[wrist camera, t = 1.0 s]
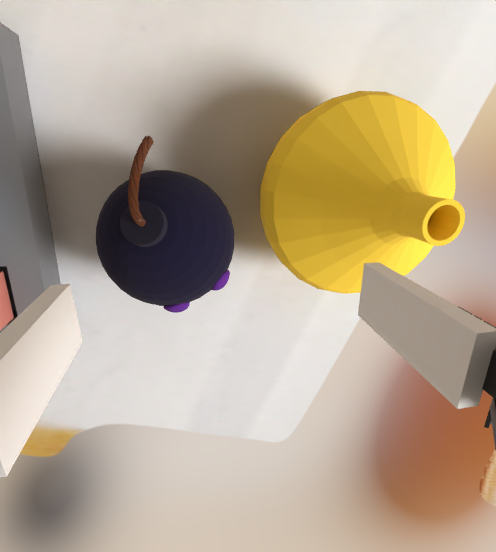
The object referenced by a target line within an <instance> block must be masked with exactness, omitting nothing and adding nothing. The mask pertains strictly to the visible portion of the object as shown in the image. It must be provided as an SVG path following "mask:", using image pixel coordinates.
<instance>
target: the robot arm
mask: <svg viewBox="0 0 496 552" xmlns="http://www.w3.org/2000/svg"><path fill="white" fill-rule="evenodd" d="M358 315H359V316H360V317H361V318H362V319H363V320H364V321H365V322H366V323H367V324H368V325H369V326H370V327H371V328H372V329H373V330H374V331H376V332H377V333H378V334H379V335H380V336H381V337H382V338H383V339H384V340H385V341H386V342H387V343H388V344H389V345H390V346H391V347H392V348H394V349H395V350H396V351H397V352H398V353H399V354H400V355H401V356H402V357H403V358H404V359H405V360H406V361H407V362H408V363H410V365H411V366H413V367H414V368H415V369H416V370H417V371H418V372H419V373H420V374H421V375H422V376H423V377H424V378H425V379H426V380H427V381H428V382H429V383H430V384H432V385H433V386H434V387H435V388H436V389H437V390H438V391H439V392H440V393H441V394H442V395H443V396H444V397H445V398H446V399H447V400H448V401H450V402H451V403H452V404H453V405H454V406H455V407H456V408H457V409H460V408H467V407H473V406H478V405H479V402H480V398H481V394H482V391H483V390H485V391H486V392H487V393H488V394H490V395H491V396H492V397H493V400H492V403H491V406H490V409H489V412H488V416H487V419H486V422H485V426H484V427H486V428H489V425H490V424H491V423H492V427H493V434H494V442H495V449H496V327H494V326H493V325H491V324H489V323H487V322H485V321H482V319H480V318H478V317H476V316H475V315H474V316H473V315H472V314H471V313H469V312H468V311H466V310H464V309H462V308H460V307H457V306H455V305H454V304H452V303H450V302H448V301H446V300H445V299H443V298H441V297H439V296H438V295H436V294H434V293H432V292H431V291H429V290H427V289H425V288H423V287H422V286H420V285H418V284H416V283H414V282H413V281H411V280H409V279H408V278H406V277H404V276H402V275H401V274H399V273H397V272H395V271H393V270H392V269H390V268H388V267H386V266H385V265H383V264H381V263H379V262H376V263H364V268H363V277H362V286H361V294H360V303H359V312H358ZM82 342H83V341H82V336H81V331H80V327H79V322H78V318H77V313H76V308H75V304H74V299H73V295H72V290H71V286H70V284H63V285H50V286H49V287H48V288H47V289H46V290H45V291H44V292H43V293H42V294H41V295H40V296H39V297H38V298H37V299H35V300H34V301H33V302H32V303H31V304H30V305H29V306H28V307H27V308H26V309H25V310H24V311H23V312H22V313H21V314H20V315H19V316H18V317H17V318H15V319H14V320H13V321H12V322H11V323H10V324H9V325H8V326H7V327H6V328H5V329H4V330H3V331H2V332H1V333H0V477H6V476H7V475H8V473H9V471H10V469H11V468H12V466H13V464H14V462H15V461H16V459H17V457H18V455H19V454H20V452H21V450H22V448H23V446H24V445H25V443H26V441H27V439H28V438H29V436H30V434H31V432H32V431H33V429H34V427H35V425H36V423H37V422H38V420H39V418H40V416H41V415H42V413H43V411H44V409H45V407H46V406H47V404H48V402H49V400H50V399H51V397H52V395H53V393H54V392H55V390H56V388H57V386H58V384H59V383H60V381H61V379H62V377H63V376H64V374H65V372H66V370H67V368H68V367H69V365H70V363H71V361H72V360H73V358H74V356H75V354H76V353H77V351H78V349H79V347H80V345H81V344H82Z"/></svg>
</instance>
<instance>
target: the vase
mask: <svg viewBox="0 0 496 552" xmlns="http://www.w3.org/2000/svg"><path fill="white" fill-rule="evenodd" d="M454 193H455V164H454V160H453V156H452V153H451V149H450V146H449V142H448V140H447V138H446V137H445V135H444V133H443V132H442V130H441V129H440V127H439V125H438V124H437V122H436V121H435V120H434V119H433V118H432V117H431V116H430V115H429V114H427V113H426V112H425V111H424V110H423V109H421V108H420V107H419V106H418V105H417V104H414V103H412V102H410V101H408V100H405V99H402V98H400V97H397V96H395V95H392V94H389V93H387V92H372V91H357V92H354V93H350V94H347V95H343V96H340V97H336V98H332V99H330V100H328V101H326V102H324V103H322V104H320V105H319V106H317V107H316V108H314V109H312V110H311V111H309V112H308V113H306V114H304V115H303V116H301V117H300V118H299V119H298V120H297V121H296V122H295V123H294V124H293V125H292V126H291V127H290V128H289V129H288V130H287V132H286V133H285V134H284V135H283V136H282V137H281V138H280V140H279V142H278V144H277V145H276V147H275V149H274V151H273V153H272V154H271V156H270V158H269V160H268V162H267V165H266V169H265V173H264V176H263V180H262V184H261V188H260V215H261V219H262V223H263V227H264V231H265V235H266V238H267V240H268V242H269V243H270V245H271V247H272V249H273V250H274V252H275V254H276V256H277V257H278V258H279V260H280V261H281V262H282V263H283V264H284V265H285V266H286V267H287V268H288V269H289V270H290V271H291V272H292V273H293V274H294V275H295V276H296V277H297V278H298V279H300V280H302V281H304V282H306V283H308V284H310V285H312V286H314V287H316V288H317V289H322V290H327V291H332V292H338V293H359V292H361V286H362V277H363V268H364V263H376V262H379V263H381V264H383V265H385V266H386V267H388V268H390V269H392V270H393V271H395V272H397V273H399V274H401V275H402V276H404V275H406V274H408V273H409V272H410V271H411V270H412V269H413V268H414V267H415V266H417V265H418V264H419V263H420V262H421V261H422V260H423V259H424V258H425V257H426V256H427V254H428V253H429V252H430V250H431V249H432V247H433V246H434V245H435V246H442V245H445V244H448V243H449V242H451V241H453V240H454V239H455V238H456V237H457V236H458V234H459V233H460V232H461V229H462V227H463V225H464V221H465V213H464V209H463V207H462V206H461V204H460V203H458V202H457V201H455V200H453V198H454Z"/></svg>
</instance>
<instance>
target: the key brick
mask: <svg viewBox="0 0 496 552" xmlns="http://www.w3.org/2000/svg"><path fill="white" fill-rule="evenodd" d="M13 318H14V316H13V312H12V308H11V303H10V299H9V295H8V290H7V286H6V281H5V277H4V273H3V271H0V330H1V329H2V328H3V327H4V326H6V325H7V324H8V323H9V322H10V321H11V320H12V319H13Z"/></svg>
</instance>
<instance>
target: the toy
mask: <svg viewBox="0 0 496 552" xmlns="http://www.w3.org/2000/svg"><path fill="white" fill-rule="evenodd" d="M152 144H153V140H152V138H151V137H150V136H148V137H147V136H145V138H144V139H143V141H142V143H141V144H140V146H139V148H138V150H137V153H136V155H135V158H134V161H133V165H132V169H131V172H130V178H129V180H128V181H126V182H125V183H123V184H122V185H120V186H119V187H118V188H117V189H116V190H115V191H114V192H113V193H112V194H111V195H110V196H109V198H108V199H107V201H106V202H105V204H104V206H103V208H102V210H101V212H100V215H99V219H98V223H97V228H96V245H97V251H98V255H99V258H100V261H101V263H102V266H103V268H104V269H105V271H106V272H107V274H108V276H109V277H110V278H111V279H112V280H113V281H114V282H115V283H116V285H117V286H118V287H119V288H120V289H121V290H123V291H124V292H126V293H127V294H128V295H130V296H131V297H133V298H136V299H138V300H140V301H143V302H146V303H150V304H155V305H160V306H164V309H166V310H167V311H170V312H181V311H184V310H186V309H187V308H188V307H189V303H190V302H191V301H193V300H195V299H198V298H200V297H201V296H203V295H204V294H206V293H207V292H209V291H210V290H219V289H221V288H223V287H224V286H225V285H226V283H227V281H228V279H229V275H230V272H229V270H227V269H228V267H229V264H230V262H231V259H232V255H233V250H234V230H233V224H232V220H231V217H230V215H229V213H228V210H227V208H226V207H225V205H224V204H223V202H222V201H221V199H220V198H219V196H218V195H217V194H216V193H215V192H214V191H213V190H212V189H211V188H210V187H209V186H208V185H206V184H205V183H203V182H201V181H200V180H198V179H197V178H194V177H192V176H189V175H187V174H184V173H180V172H175V171H169V170H160V171H151V172H147V173H143V174H141V171H142V167H143V164H144V161H145V158H146V155H147V153H148V151H149V149H150V147H151V146H152Z"/></svg>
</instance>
